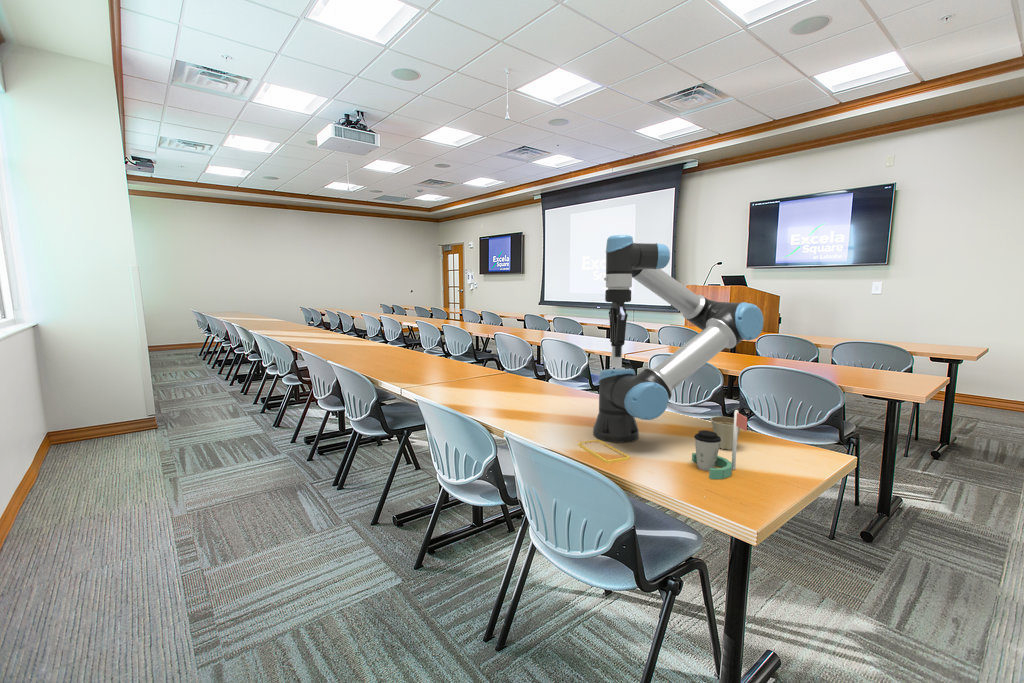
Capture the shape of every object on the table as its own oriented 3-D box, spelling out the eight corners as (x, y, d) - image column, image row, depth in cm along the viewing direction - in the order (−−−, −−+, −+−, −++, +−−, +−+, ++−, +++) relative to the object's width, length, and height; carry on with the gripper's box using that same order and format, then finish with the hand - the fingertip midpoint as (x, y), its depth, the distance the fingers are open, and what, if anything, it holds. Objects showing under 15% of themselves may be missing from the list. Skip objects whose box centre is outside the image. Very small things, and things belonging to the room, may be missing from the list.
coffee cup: (725, 471, 124) (727, 436, 123) (702, 473, 123) (704, 438, 122) (709, 462, 131) (710, 428, 130) (687, 464, 129) (689, 430, 128)
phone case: (598, 443, 149) (598, 439, 149) (630, 461, 133) (630, 456, 133) (577, 446, 146) (577, 442, 146) (607, 465, 130) (607, 460, 130)
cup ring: (691, 461, 132) (692, 453, 131) (718, 461, 132) (718, 452, 131) (711, 479, 119) (711, 470, 119) (740, 478, 119) (740, 469, 119)
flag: (730, 468, 126) (733, 409, 124) (734, 468, 126) (737, 409, 124) (741, 477, 120) (745, 415, 118) (745, 477, 120) (748, 415, 118)
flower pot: (745, 446, 144) (747, 420, 143) (736, 454, 137) (738, 426, 136) (714, 440, 150) (716, 414, 149) (704, 447, 143) (706, 420, 142)
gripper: (601, 288, 141) (599, 363, 143) (610, 288, 128) (609, 371, 130) (625, 288, 141) (623, 363, 143) (637, 288, 128) (635, 370, 130)
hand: (616, 367), depth 137 cm, fingers closed
